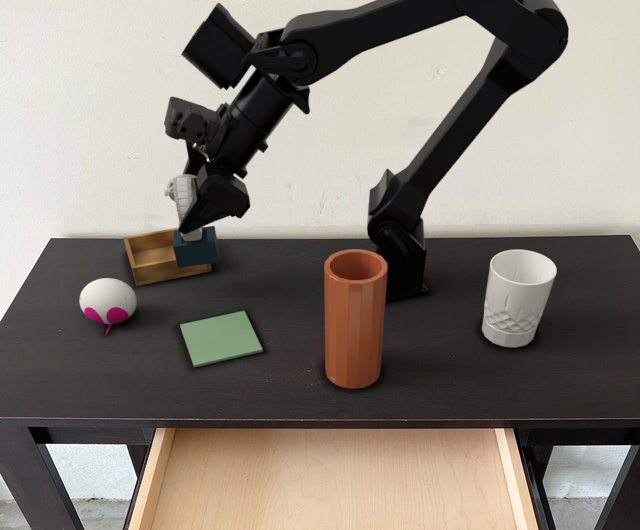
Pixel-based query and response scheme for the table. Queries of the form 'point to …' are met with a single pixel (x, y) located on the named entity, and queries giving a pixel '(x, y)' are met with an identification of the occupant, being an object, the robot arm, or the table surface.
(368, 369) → the vase
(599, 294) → the table surface
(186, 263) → the watch
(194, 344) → the mat
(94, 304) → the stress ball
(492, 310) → the white cup
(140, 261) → the wooden box
